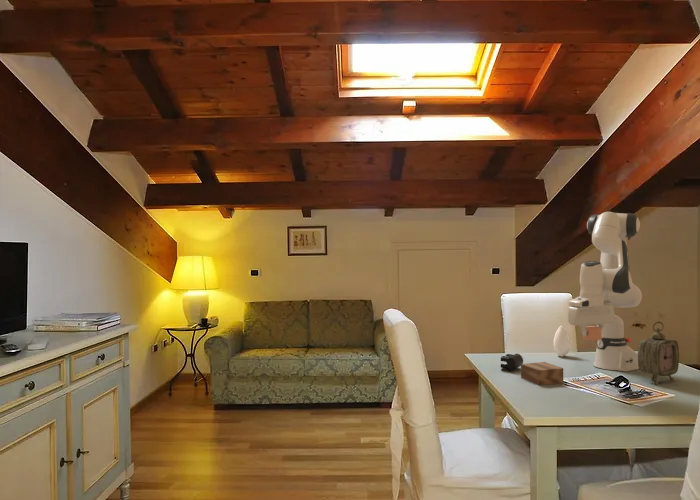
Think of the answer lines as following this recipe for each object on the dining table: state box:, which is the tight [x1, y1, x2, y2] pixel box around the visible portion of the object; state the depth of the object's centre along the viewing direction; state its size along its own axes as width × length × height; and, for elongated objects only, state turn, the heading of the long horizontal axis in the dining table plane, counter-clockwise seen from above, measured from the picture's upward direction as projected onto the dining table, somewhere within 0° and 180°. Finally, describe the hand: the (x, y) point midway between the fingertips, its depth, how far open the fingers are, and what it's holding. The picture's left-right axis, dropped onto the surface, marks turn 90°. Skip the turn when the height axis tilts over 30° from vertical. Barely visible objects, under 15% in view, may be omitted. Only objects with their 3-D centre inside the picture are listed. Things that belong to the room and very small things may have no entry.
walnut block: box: [520, 361, 564, 386], centre depth 216 cm, size 12×12×6 cm
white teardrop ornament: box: [553, 321, 571, 358], centre depth 261 cm, size 8×8×18 cm
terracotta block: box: [581, 325, 602, 342], centre depth 209 cm, size 5×5×5 cm
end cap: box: [500, 353, 524, 373], centre depth 235 cm, size 10×7×7 cm
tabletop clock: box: [637, 321, 680, 385], centre depth 212 cm, size 14×9×25 cm, turn 117°
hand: (591, 335), depth 209 cm, fingers closed on terracotta block, 5 cm apart
